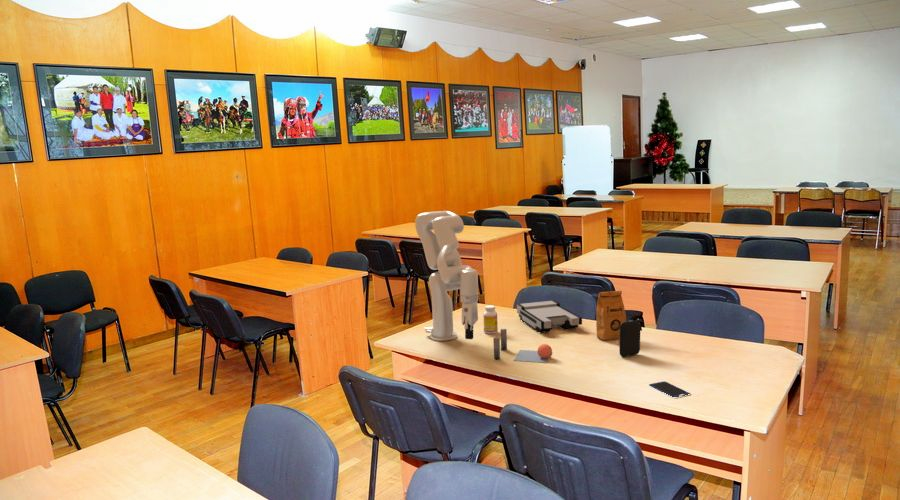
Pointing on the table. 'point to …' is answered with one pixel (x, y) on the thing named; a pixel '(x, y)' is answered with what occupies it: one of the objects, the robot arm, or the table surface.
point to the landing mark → (530, 357)
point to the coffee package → (609, 315)
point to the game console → (547, 316)
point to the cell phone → (669, 389)
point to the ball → (544, 351)
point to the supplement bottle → (490, 320)
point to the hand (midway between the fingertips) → (469, 338)
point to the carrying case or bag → (629, 338)
